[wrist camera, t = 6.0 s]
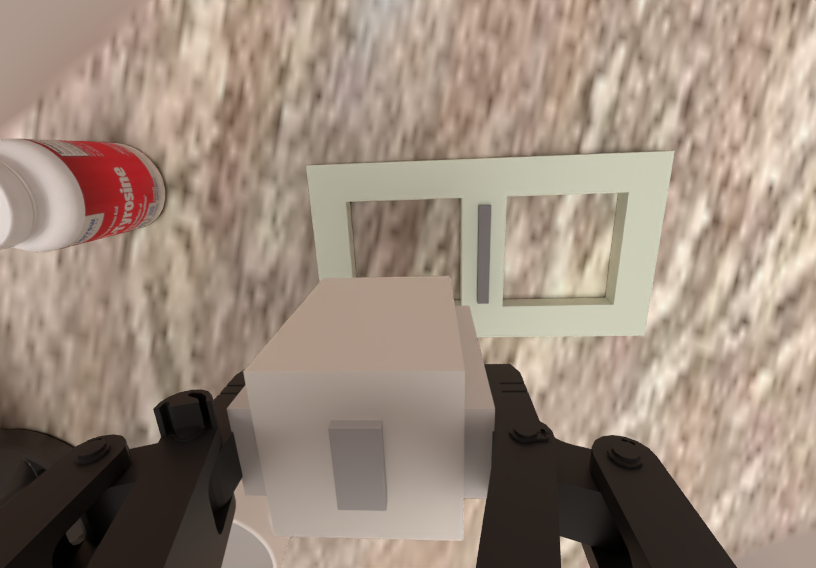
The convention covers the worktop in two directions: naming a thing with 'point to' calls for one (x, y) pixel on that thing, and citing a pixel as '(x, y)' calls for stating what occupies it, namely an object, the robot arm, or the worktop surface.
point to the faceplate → (486, 222)
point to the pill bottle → (73, 192)
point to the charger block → (364, 412)
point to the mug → (253, 535)
